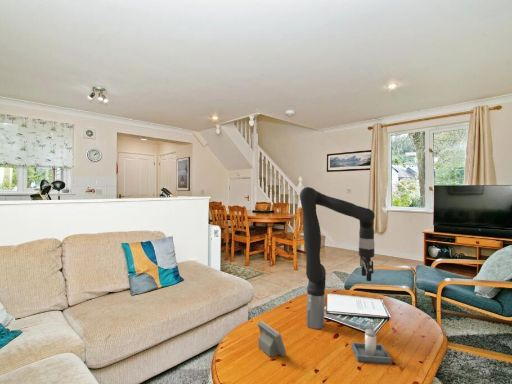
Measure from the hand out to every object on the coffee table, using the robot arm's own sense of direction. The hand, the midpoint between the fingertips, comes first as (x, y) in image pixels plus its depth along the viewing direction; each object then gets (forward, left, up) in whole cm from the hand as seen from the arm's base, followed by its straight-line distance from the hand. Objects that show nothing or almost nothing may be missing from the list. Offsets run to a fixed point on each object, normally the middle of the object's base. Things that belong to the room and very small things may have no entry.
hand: (366, 278), depth 137 cm
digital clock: (-48, -21, -28) cm, 59 cm away
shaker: (-4, -20, -28) cm, 34 cm away
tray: (-4, -20, -28) cm, 35 cm away
